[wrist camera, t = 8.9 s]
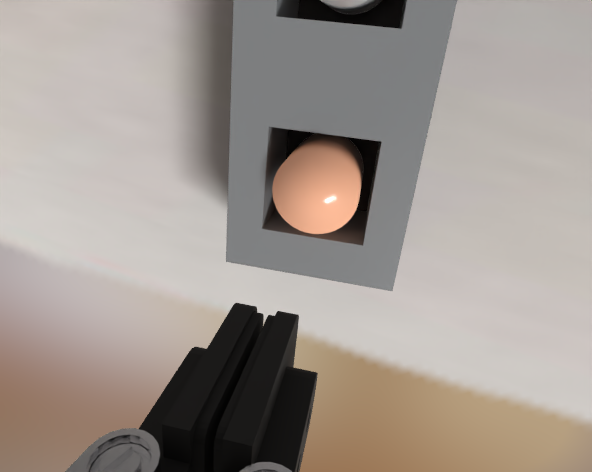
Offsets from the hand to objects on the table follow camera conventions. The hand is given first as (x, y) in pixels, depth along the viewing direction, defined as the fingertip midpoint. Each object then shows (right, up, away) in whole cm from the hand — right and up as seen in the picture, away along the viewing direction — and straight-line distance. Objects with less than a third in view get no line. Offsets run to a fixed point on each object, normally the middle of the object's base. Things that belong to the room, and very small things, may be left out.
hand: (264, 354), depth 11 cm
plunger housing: (+4, +14, +17) cm, 22 cm away
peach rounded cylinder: (+3, +8, +18) cm, 20 cm away
